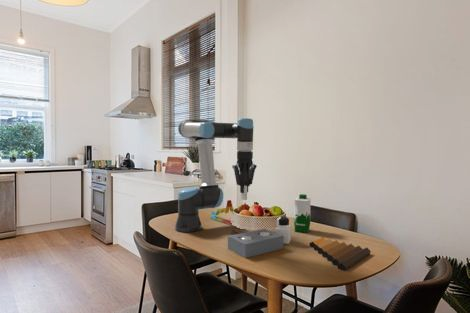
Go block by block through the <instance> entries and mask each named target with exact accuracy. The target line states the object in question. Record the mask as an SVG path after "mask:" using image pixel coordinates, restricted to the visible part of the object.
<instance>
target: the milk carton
mask: <svg viewBox="0 0 470 313" xmlns="http://www.w3.org/2000/svg"><path fill="white" fill-rule="evenodd" d="M293 202H294V203H293V205H294V206H293V220H294V221H293V224H294V226H293V227H294V232H297V233H308V232H309V230H310V227H311V226H310V225H311V198H309V197H307V194H304V193H303V194H302V193H301V194H299V197H296V198H295V199H294V200H293Z"/></svg>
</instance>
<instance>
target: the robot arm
mask: <svg viewBox="0 0 470 313" xmlns="http://www.w3.org/2000/svg"><path fill="white" fill-rule="evenodd" d="M177 128H178V129H177V130H178V133H179V135H181V137H183V138H185V139H188V140H189V139H190V140H191V139H192V140H193V139H194V142H195V144H196V145H197V147H198V161H199V169H200V181H201V182H200V183H201V184H200V185H199V186H197V187H196V186H194V187H193V186H191V187H185V188H181V189H180V190H179V191H178V193H177V194H178V195H177V218H176V221H175V224H174V225H175V226H174V230H175V231H176V232H181V233H192V232H197V231H201V230H202V226H203V225H202V222H201V219H200V216H199V213H200V212H199V210H207V209H215V208H219V207H220V206H221V205H222V203H223V202H224V191H223V189H222V188H221V187H219V186H220V185H219V184H218V183H217V181H216V172H215V162H214V161H215V160H214V150H213V143H214V142H215V139H237V142H236V143H237V144H236V145H237V146H236V150H237V152H236V159H237V161H236V163H235V164H234V165H232V166H231V167H232V169H233V172H234V176H235V181H236V185H237V186H239V187H240V189H239V191H240V193H241V194H240V196H241V198H240V200H244V201H247V200H248V192H249V187H250V186H251V185H252V184H253V181H254V176H255V172H256V168H257V166H258V165H257V164H255V163H254V162H253V158H254V156H253V154H254V153H253V149H254V120H253V119H252V118H247V117H246V118H238V120H237V123H235V122H214V121H213V120H208V119H190V118H189V119H185V120H183V121H181V122H179V124H178V127H177Z"/></svg>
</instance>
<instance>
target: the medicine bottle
mask: <svg viewBox="0 0 470 313" xmlns="http://www.w3.org/2000/svg"><path fill="white" fill-rule="evenodd" d="M274 232H275V233H278V234H280V235H283V236H284V237H283V245H284V244H285V245H286V244H287V245H289V244H290V242H291V240H292V226H291V225H290V219H289V218H288V217H287V216H279V217H277V218H276V227H274Z"/></svg>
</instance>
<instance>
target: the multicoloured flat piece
mask: <svg viewBox="0 0 470 313" xmlns="http://www.w3.org/2000/svg"><path fill="white" fill-rule="evenodd" d="M233 211H235V210H234V207H233V203H232V200H231V199H229V200H227V201H226V207H224V208H217V211H216V212H215V211H210V213H211V214H212V215H211V216H210V220H212V221H216V222H219V223H222V224H225V225H228V226H231V227H233V226H232V223H231V221H232V220H230V219H225V218H223V217H220V216H219V215H220V214H222V213H224V214H228V213H229V212H230V213H232V214H234V213H233Z"/></svg>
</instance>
